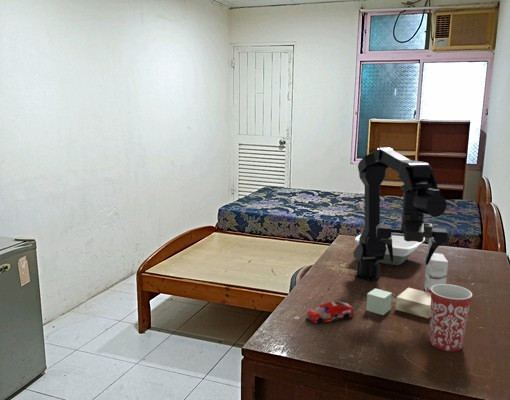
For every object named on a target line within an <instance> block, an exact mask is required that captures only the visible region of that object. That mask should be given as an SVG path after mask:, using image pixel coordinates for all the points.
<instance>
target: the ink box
mask: <svg viewBox="0 0 510 400" xmlns="http://www.w3.org/2000/svg"><path fill="white" fill-rule="evenodd" d="M448 268H449V261H448V259H447V258H446V257H445V255H444V254H443V253H437V252H434V253H433V255H432V257H431V259H430V261H429V263H428V265H426V264H425V275H424V286H423V288H424V292H428V293H431V287H432V286H434V285H437V284H447V278H448V277H447V276H448Z"/></svg>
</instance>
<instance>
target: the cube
mask: <svg viewBox="0 0 510 400" xmlns="http://www.w3.org/2000/svg"><path fill="white" fill-rule="evenodd" d="M392 296H393V293H392V292H390V291H386V290H383V289H378V288H373V289H372V290H370V291H369V292H367V294H366V310H365V311H367V312H371V313H375V314H377V315H381V316H384V315H386V314H387V313H388V312H389V311H390V310H392V301H393V300H392Z"/></svg>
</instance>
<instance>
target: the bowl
mask: <svg viewBox="0 0 510 400" xmlns="http://www.w3.org/2000/svg"><path fill="white" fill-rule="evenodd" d="M361 234H362V233H360V234H359V235H357V236H356V237H355V239H354V241H355V242H356V243H357V245H359V238H360V236H361ZM425 240H426V238H424V239H423V242H417V241H410V242H409V241H405V240H404V236H395V235H392V247H393V262H391V259H390V255H389V251H388V248H387V245H386V248H387V249H386V253H385V256H384V259H383V260H379V264H380V263H381V264H385V265H391V266H400V265H402V264H403V263H405V261H406V260H407V259H408V258H409V257H410V256H411V255H412V254H413V252H414V251H415V250H416V249H418V247H419V246H420V245H422V244H423V243H424V242H425Z"/></svg>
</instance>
